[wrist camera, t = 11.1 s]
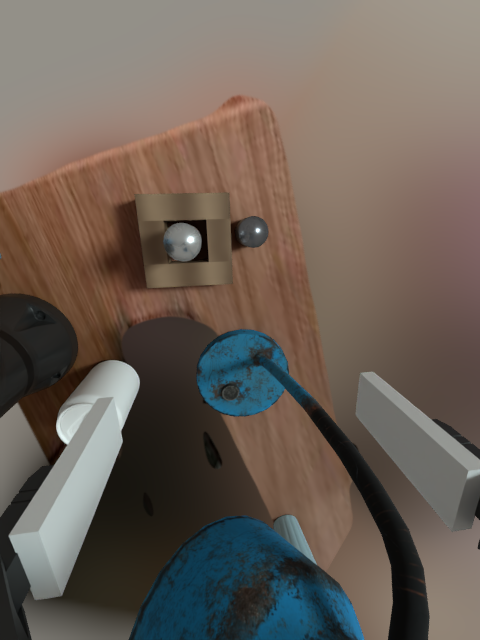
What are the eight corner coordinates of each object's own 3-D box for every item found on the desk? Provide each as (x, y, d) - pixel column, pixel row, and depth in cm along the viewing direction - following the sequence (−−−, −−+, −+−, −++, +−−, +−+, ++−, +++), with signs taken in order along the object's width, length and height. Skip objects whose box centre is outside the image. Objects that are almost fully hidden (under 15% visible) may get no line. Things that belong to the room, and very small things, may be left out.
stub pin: (235, 246, 42) (239, 248, 37) (234, 218, 41) (238, 216, 36) (261, 245, 43) (268, 246, 38) (261, 217, 41) (268, 215, 37)
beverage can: (80, 385, 46) (39, 435, 34) (107, 349, 45) (73, 389, 33) (123, 409, 48) (98, 463, 37) (150, 375, 47) (132, 420, 35)
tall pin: (175, 253, 41) (165, 262, 30) (172, 225, 40) (161, 223, 29) (202, 252, 42) (202, 260, 30) (200, 224, 41) (199, 222, 29)
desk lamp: (158, 398, 48) (-189, 1644, 6) (243, 306, 45) (898, 1555, 3) (226, 443, 53) (318, 1314, 10) (308, 362, 50) (922, 1136, 7)
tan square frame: (152, 283, 42) (147, 288, 38) (141, 198, 39) (134, 194, 35) (230, 279, 44) (232, 283, 40) (226, 196, 40) (229, 192, 36)
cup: (269, 539, 62) (282, 597, 52) (266, 514, 60) (279, 570, 50) (302, 532, 63) (320, 587, 53) (300, 507, 60) (319, 560, 51)
